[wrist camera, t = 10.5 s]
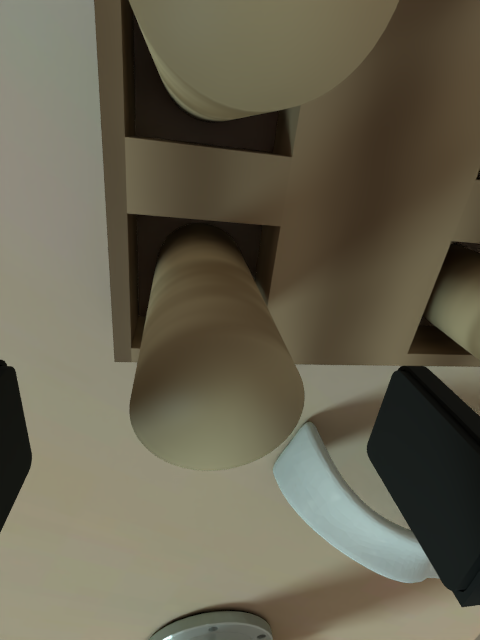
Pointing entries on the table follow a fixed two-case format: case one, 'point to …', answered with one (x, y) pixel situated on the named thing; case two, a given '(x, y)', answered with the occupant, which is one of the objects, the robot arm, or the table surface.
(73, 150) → the table surface
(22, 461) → the robot arm
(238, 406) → the loose peg
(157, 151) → the wooden peg tray
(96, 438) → the table surface
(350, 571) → the table surface
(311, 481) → the spoon rest
